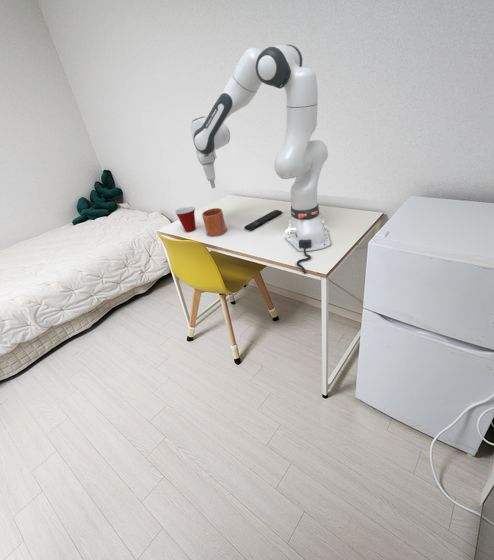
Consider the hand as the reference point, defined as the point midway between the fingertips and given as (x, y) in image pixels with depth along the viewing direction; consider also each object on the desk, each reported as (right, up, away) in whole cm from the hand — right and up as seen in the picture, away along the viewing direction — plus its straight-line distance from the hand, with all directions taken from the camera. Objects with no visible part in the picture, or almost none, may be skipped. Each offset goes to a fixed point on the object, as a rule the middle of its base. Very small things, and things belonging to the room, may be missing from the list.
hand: (213, 185), depth 152 cm
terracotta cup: (+1, -22, +9) cm, 24 cm away
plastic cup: (-14, -19, +17) cm, 30 cm away
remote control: (+26, -16, +10) cm, 32 cm away
